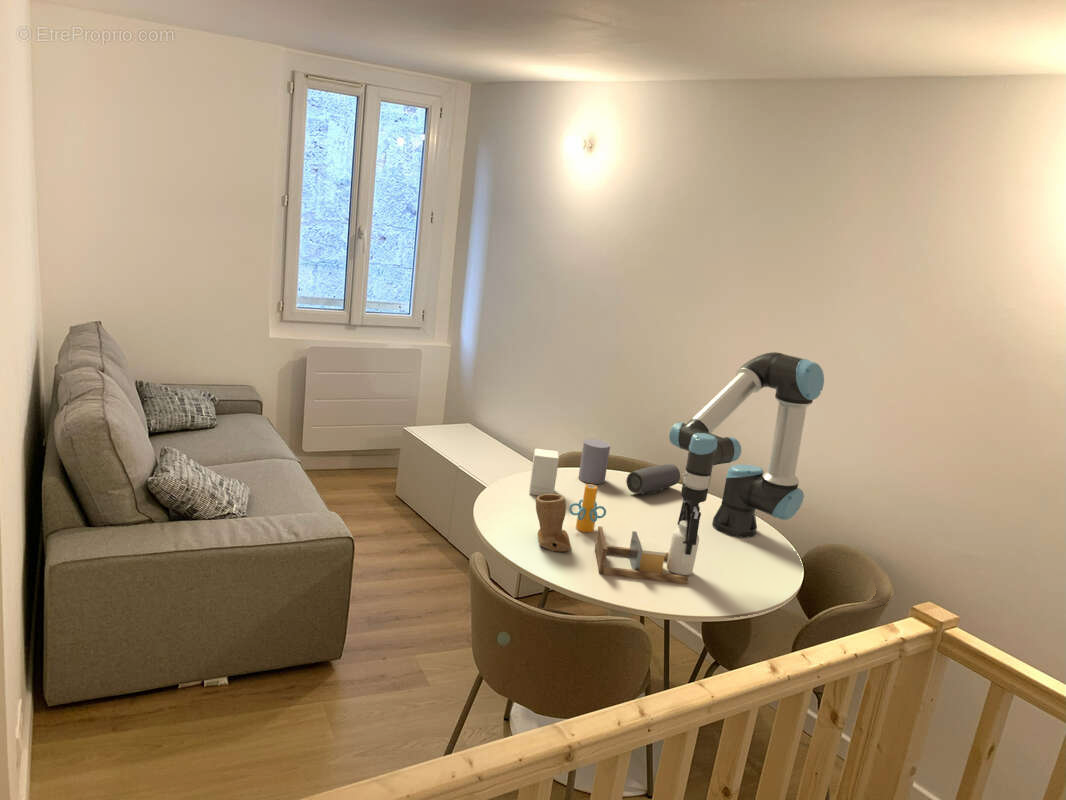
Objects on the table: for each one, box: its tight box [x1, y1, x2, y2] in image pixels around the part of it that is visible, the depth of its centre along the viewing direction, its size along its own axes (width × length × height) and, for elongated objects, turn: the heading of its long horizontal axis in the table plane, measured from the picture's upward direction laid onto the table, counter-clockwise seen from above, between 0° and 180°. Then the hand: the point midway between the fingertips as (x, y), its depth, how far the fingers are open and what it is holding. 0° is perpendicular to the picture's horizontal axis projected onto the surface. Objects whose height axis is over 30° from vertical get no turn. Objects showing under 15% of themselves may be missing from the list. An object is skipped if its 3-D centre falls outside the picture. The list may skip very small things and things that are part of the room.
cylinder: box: [568, 483, 607, 533], centre depth 261 cm, size 12×10×15 cm
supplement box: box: [528, 448, 560, 496], centre depth 290 cm, size 9×9×15 cm
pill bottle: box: [666, 521, 700, 576], centre depth 239 cm, size 8×8×15 cm
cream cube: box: [639, 539, 666, 573], centre depth 240 cm, size 7×7×7 cm
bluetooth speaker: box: [625, 463, 681, 495], centre depth 307 cm, size 23×9×10 cm, turn 133°
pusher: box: [628, 531, 642, 570], centre depth 239 cm, size 1×13×8 cm, turn 1°
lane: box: [594, 526, 689, 585], centre depth 239 cm, size 26×16×8 cm, turn 90°
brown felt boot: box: [535, 493, 572, 552], centre depth 247 cm, size 15×12×15 cm
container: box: [578, 438, 611, 485], centre depth 310 cm, size 10×10×15 cm
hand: (682, 556), depth 239 cm, fingers closed on pill bottle, 8 cm apart
